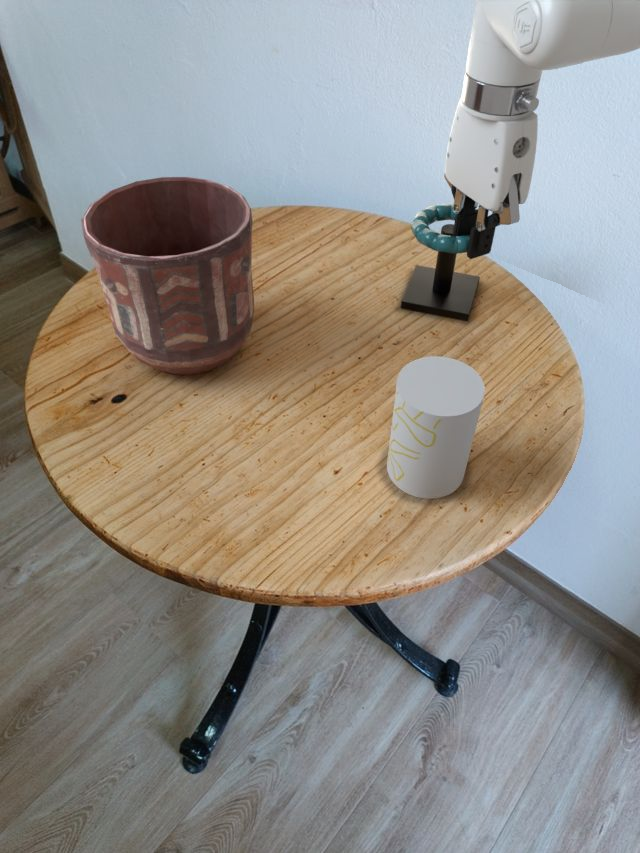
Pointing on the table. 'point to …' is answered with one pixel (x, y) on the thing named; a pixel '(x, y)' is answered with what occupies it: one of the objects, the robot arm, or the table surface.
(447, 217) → the ring
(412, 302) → the peg stand
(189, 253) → the pottery
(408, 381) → the grey cylinder
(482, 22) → the robot arm
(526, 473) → the table surface
